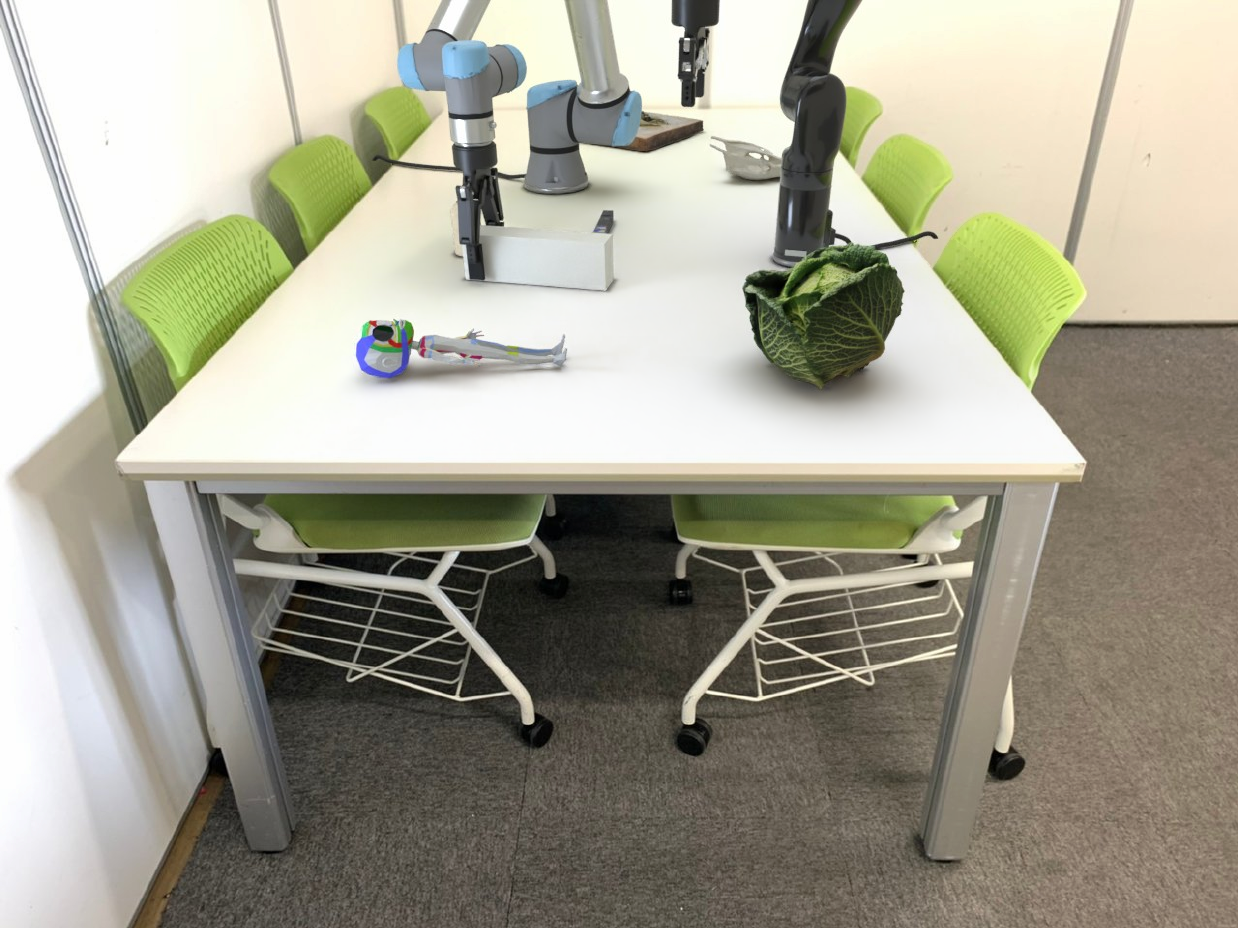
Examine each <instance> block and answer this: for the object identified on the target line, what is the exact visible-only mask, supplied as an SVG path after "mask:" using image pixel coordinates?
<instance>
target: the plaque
mask: <svg viewBox="0 0 1238 928" xmlns="http://www.w3.org/2000/svg"><path fill="white" fill-rule="evenodd" d="M704 130H705V129H704V120H702V119H698V118H693V117H685V116H679V115H669V114H663V113H659V112H650V111H644V110H642V114H641V120H640V125H639V129H638V132H637V135H636V137H635V139H634V140H633V142H632V143H631V144H629V145H627V146H612V145H604V146H607V147H612V148H620V149H625V150H632V151H640V152H648V151H654V150H656V149H659V148H662V147H663V146H664V147H665V146H667V145H670V144H672V143H676V142H680V141H682V140H684V139H687V138H691V137H692V136H694V135H696V134H698V133H700V132H704ZM598 145H599V146H602V145H601V144H597V146H598Z"/></svg>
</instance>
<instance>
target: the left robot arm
mask: <svg viewBox="0 0 1238 928" xmlns="http://www.w3.org/2000/svg"><path fill="white" fill-rule="evenodd" d="M491 1H492V0H441V1H440V3H439V5H438V7H437V9H436V10H435V13H434V15H433V17H432V19H431V21H430V23H429V25H428V27H427V29H426V31H425V33H424V35H423V37H422V39H421V40H420V42H419V43H417V42H412V43H406V44H404V45H403V46H402V47H401V48H400V49H399V51H398V54H397V61H396V65H397V72H398V75H399V76H398V77H399V78H400V80H401V81H402V82H403V84H404V85H405V86H406V87H407V88H409V89H413V90H417V91H418V90H419V91H424V92H445V95H446V103H447V104H446V105H447V114H448V127H449V136H450V141H451V142H452V143H453V144H452V145H451V152H452V161H453V166H448V165H434V164H423V163H415V162H414V163H413V162H407V161H401V160H396V159H392V158H387V157H385V156H384V155H382V154H376V155H374V157H373V158H372V161H373V162H376V161H377V160H379V159H380V160H382V161H384V162H386V163H388V164H393V165H399V166H404V167H409V168H410V167H411V168H417V169H418V168H419V169H428V170H438V171H439V170H440V171H454V172H455V171H456V172H462V185H458V184H457V185H456V186H455V194H456V201H457V200H458V225H459V243H460V244H461V245H466V251H467V260H468V269H469V278H470V279H471V280H470V281H479V280H485V271H484V261H483V251H482V244H480V243H479V236H480V221H481V219H482V217H483V221H484V223H485V224H484V225H486V226H501V227H505V222H504V219H505V216H504V210H503V204H502V198H501V192H500V184H499V177H500V178H503V179H510V180H517V179H524V180H523V183H524V188H525V189H526V190H527V191H530V192H531V193H535V194H536V193H537V194H543V195H544V194H545V195H562V194H570V193H576V192H579V191H583V190H584V189H586V188H587V187H589V175H588V173H587V171H586V168H585V164H584V161H583V158H582V156H581V153H580V144H590V145H598V144H601V145H600V146H605V145H612V146H627V145H629V144H631V143H632V142H633V140H634V139H635V137H636V135H637V132H638V129H639V125H640V120H641V114H642V111H643V99H642V96H641V93H640V92H638V91H636V90H631V89H630V83H629V79H628V78H627V76H626V75H624V74H622V73H621V72H620V65H619V59H618V55H617V48H616V41H615V36H614V29H613V24H612V19H611V13H610V8H609V7H610V6H609V1H608V0H563V1H564V6H565V10H566V15H567V20H568V24H569V30H570V34H571V39H572V43H573V48H574V53H575V58H576V62H577V67H578V73H579V77H580V82H579V83H578V82H577V81H576V80H575V79H560V80H554V81H547V82H543V83H539V84H535V85H532V86H531V87H530V88H529V89H528V90H527V93H526V107H525V108H526V109H525V110H526V113H527V127H528V140H529V141H528V142H529V157H528V162H527V168H526V172H525V173H519V174H507V173H503V172H500V171H499V168H498V167H495V166H497V164H498V162H499V161H498V150H497V143H496V142H495V141H494V140H495V139H496V129H497V125H498V124H497V122H495V118H494V117H495V116H494V103H493V101H494V100H493V98H495V97H498V96H502V95H505V94H509V93H512V92H513V91H514V90H515V89H517V88H519V87H520V86H521V85H522V84H523V83H524V82H525V80H526V77H527V74H528V73H527V72H528V67H527V62H526V58H525V56H524V54H523V53H522V51H520V49H518V48H517V47H516V46H514V45H513V44H509V43H508V44H507V43H504V44H495V45H493V46H488V45H487V43H486V42H484V41H482V40H476V39H475V40H472V39H473V38H474V35H475V33H476V31H477V29H478V27H479V25H480V23H481V21H482V19H483V17H484V15H485V13H486V11H487V9H488V7H489V5H490V3H491ZM481 216H482V217H481Z"/></svg>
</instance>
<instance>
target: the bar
mask: <svg viewBox="0 0 1238 928" xmlns="http://www.w3.org/2000/svg"><path fill="white" fill-rule="evenodd" d="M479 243H480V244H482V251H483V261H484V271H485V280H478V281H481V282H493V283H505V284H518V285H530V286H540V287H541V286H542V287H553V288H565V289H580V290H590V291H591V290H592V291H604V292H606V291H607V290H608V289H609V287H610V286H611V284H612V283H613V282H614V235H613V233H608V234H606V233H593V232H589V231H588V232H587V231H577V230H575V231H573V230H559V229H544V228H530V227H515V226H514V227H513V226H504V227H501V226H486V224H484V225H483V224H481V225H480V236H479ZM462 249H463V256H462V258H463V265H464V267H463V268H464V275H465V280H468V281H469V280H470V281H472V280H471V279H470V278H469V269H468V260H467V251H466V245H462Z"/></svg>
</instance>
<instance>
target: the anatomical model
mask: <svg viewBox="0 0 1238 928" xmlns="http://www.w3.org/2000/svg"><path fill="white" fill-rule="evenodd" d="M710 139H711V140H715V141H719V142H721V143H723V144H724V146H725V150H724V149H722V148H721V147H718V146H716V145H714V144H711V143H709V147H711V148H712V149H715V150H716V151H718V152H721V153H722V155H723V160H724V162H725V171H729V172H730V174H731V175H733V176H739V177H741V178H743V179H746V180H750V181H752V180H754V181H756V180H757V181H759V180H760V181H761V180H768V179H772V178H780V172H781V159H782V157H779V156H777V155H775V154H774V153H773V152H771V151H770V150H769V149H768V148H765V147H762V146H760V145H758V144H754V143H751V142H748V141H747V142H746V141H742V140H734V139H726V138H722V137H718V136H714V135H711V136H710ZM751 154H758V155H759V156H761V157H759V158H756V157H754V156H753V155H751ZM765 156H766V157H767V158H768V159H766V158H765Z"/></svg>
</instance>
